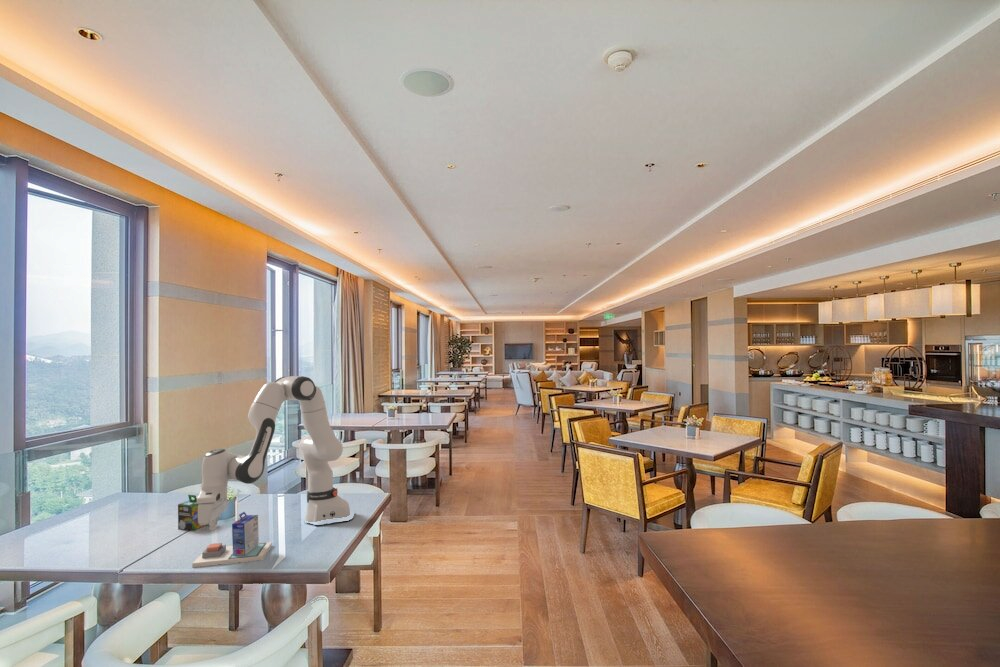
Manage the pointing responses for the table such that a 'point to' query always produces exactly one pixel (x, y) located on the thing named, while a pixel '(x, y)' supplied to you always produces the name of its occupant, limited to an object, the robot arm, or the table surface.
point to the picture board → (231, 555)
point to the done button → (214, 547)
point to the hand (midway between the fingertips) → (213, 528)
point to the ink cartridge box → (245, 534)
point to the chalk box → (188, 515)
